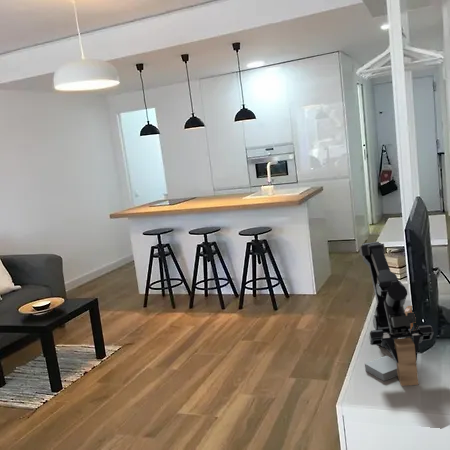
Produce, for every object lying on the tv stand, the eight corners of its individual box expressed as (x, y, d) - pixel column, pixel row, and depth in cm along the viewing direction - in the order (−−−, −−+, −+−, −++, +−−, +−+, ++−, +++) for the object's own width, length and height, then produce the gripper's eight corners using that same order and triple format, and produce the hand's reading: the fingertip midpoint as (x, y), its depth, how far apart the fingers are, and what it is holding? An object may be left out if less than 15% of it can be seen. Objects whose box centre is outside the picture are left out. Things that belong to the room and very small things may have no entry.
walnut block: (397, 377, 158) (393, 339, 156) (414, 376, 157) (410, 337, 155) (401, 385, 153) (397, 346, 151) (418, 384, 153) (414, 344, 150)
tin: (410, 338, 184) (408, 317, 182) (401, 338, 185) (399, 316, 184) (419, 322, 196) (417, 302, 195) (410, 322, 198) (408, 301, 196)
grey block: (387, 362, 169) (386, 355, 169) (406, 372, 161) (405, 364, 160) (365, 370, 166) (364, 363, 165) (383, 381, 158) (383, 373, 157)
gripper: (366, 306, 157) (376, 355, 148) (429, 300, 154) (443, 349, 145) (365, 321, 166) (374, 367, 157) (424, 315, 163) (437, 362, 154)
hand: (406, 361), depth 153 cm, fingers closed on walnut block, 5 cm apart
